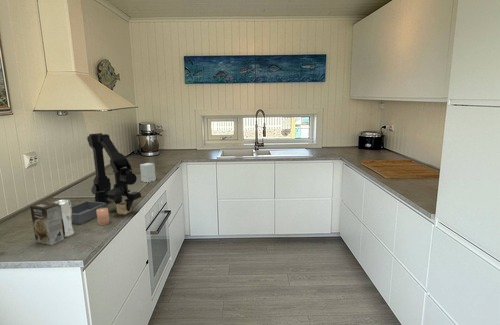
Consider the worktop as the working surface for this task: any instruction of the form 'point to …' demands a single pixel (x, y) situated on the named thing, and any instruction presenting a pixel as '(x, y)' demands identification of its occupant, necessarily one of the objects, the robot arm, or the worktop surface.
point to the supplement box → (147, 172)
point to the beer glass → (66, 217)
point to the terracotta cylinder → (102, 216)
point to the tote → (86, 211)
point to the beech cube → (122, 208)
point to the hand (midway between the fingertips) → (124, 210)
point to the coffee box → (47, 223)
